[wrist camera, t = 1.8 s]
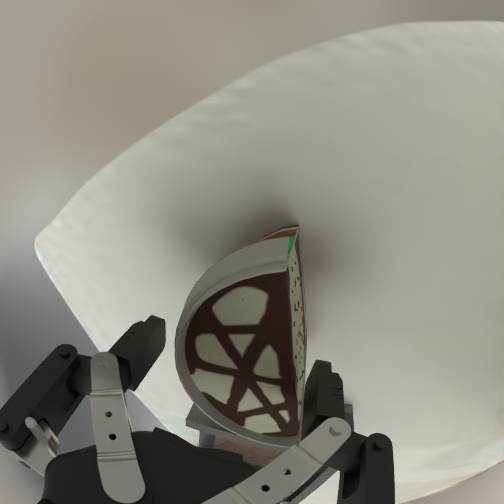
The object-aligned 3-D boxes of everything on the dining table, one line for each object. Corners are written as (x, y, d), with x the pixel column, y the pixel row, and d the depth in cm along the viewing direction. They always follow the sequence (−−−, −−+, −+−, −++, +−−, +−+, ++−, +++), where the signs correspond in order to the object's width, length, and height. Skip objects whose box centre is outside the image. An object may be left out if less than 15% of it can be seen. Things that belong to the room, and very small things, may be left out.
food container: (210, 212, 20) (129, 263, 10) (296, 203, 18) (284, 253, 9) (237, 351, 23) (200, 442, 14) (307, 351, 22) (299, 452, 13)
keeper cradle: (352, 405, 23) (355, 453, 18) (300, 472, 30) (296, 505, 24) (207, 374, 25) (185, 419, 20) (200, 449, 32) (187, 481, 26)
